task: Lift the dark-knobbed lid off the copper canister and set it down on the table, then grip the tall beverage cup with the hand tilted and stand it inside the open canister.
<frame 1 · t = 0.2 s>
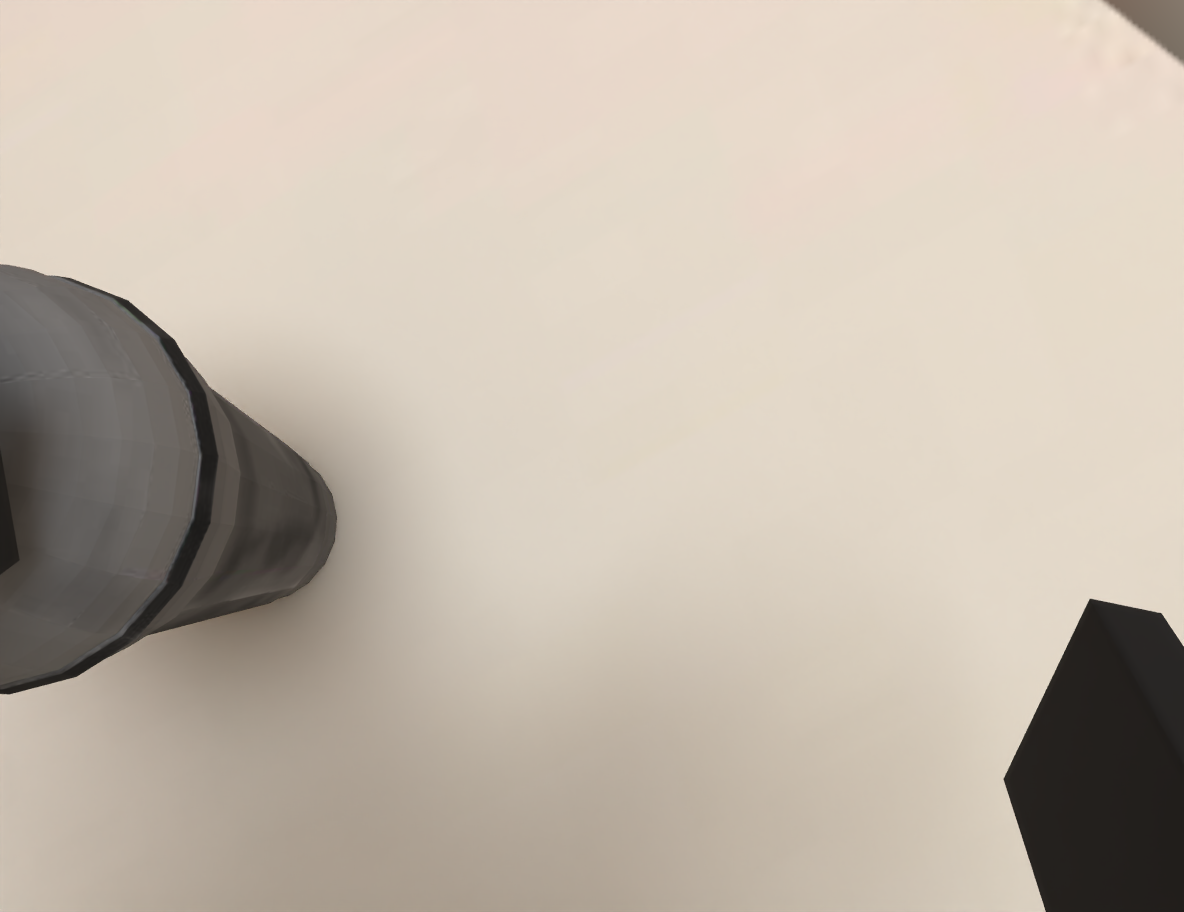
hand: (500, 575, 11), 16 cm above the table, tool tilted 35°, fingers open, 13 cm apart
beverage cup: (263, 525, 27), on the table
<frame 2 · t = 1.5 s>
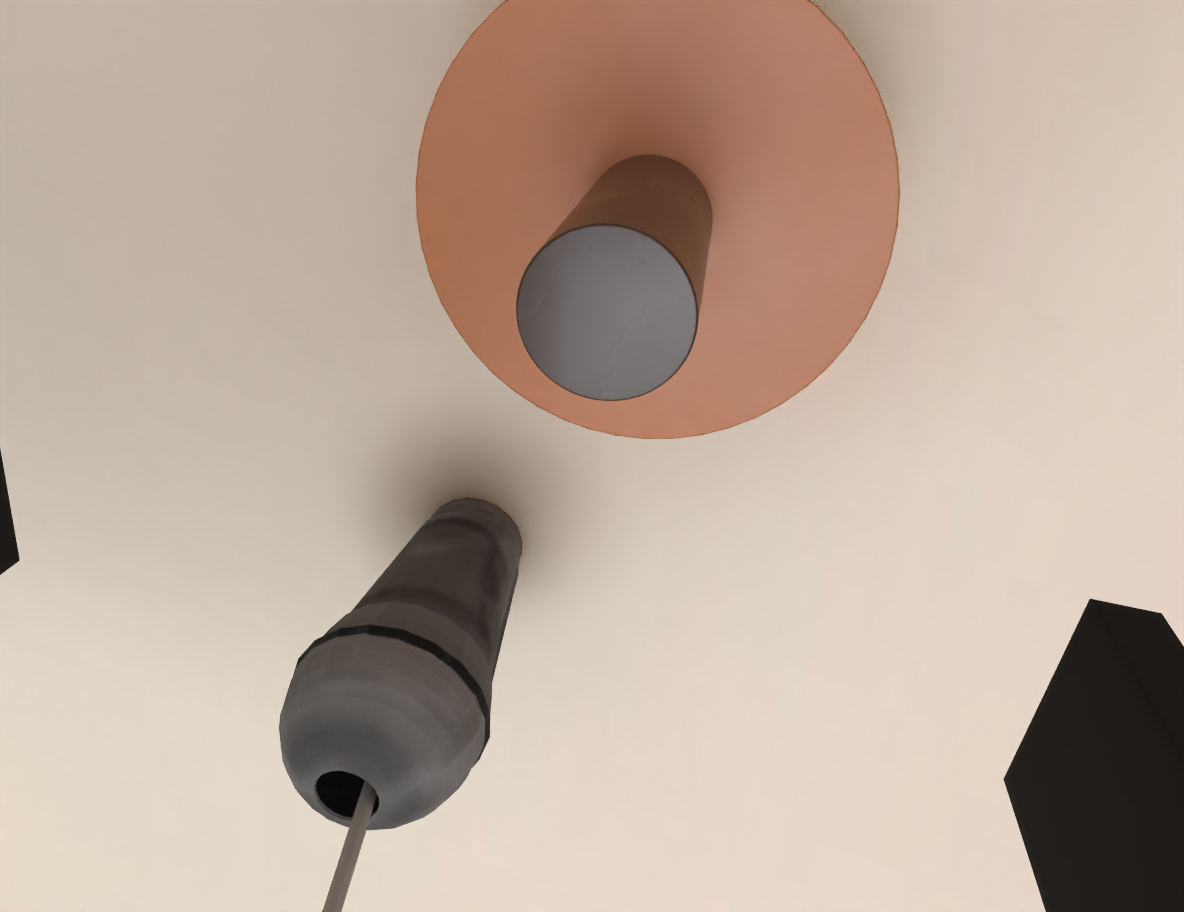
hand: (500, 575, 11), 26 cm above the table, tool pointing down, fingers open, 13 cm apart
beverage cup: (475, 538, 43), on the table
lid: (650, 216, 26), point 8 cm above the table, touching canister
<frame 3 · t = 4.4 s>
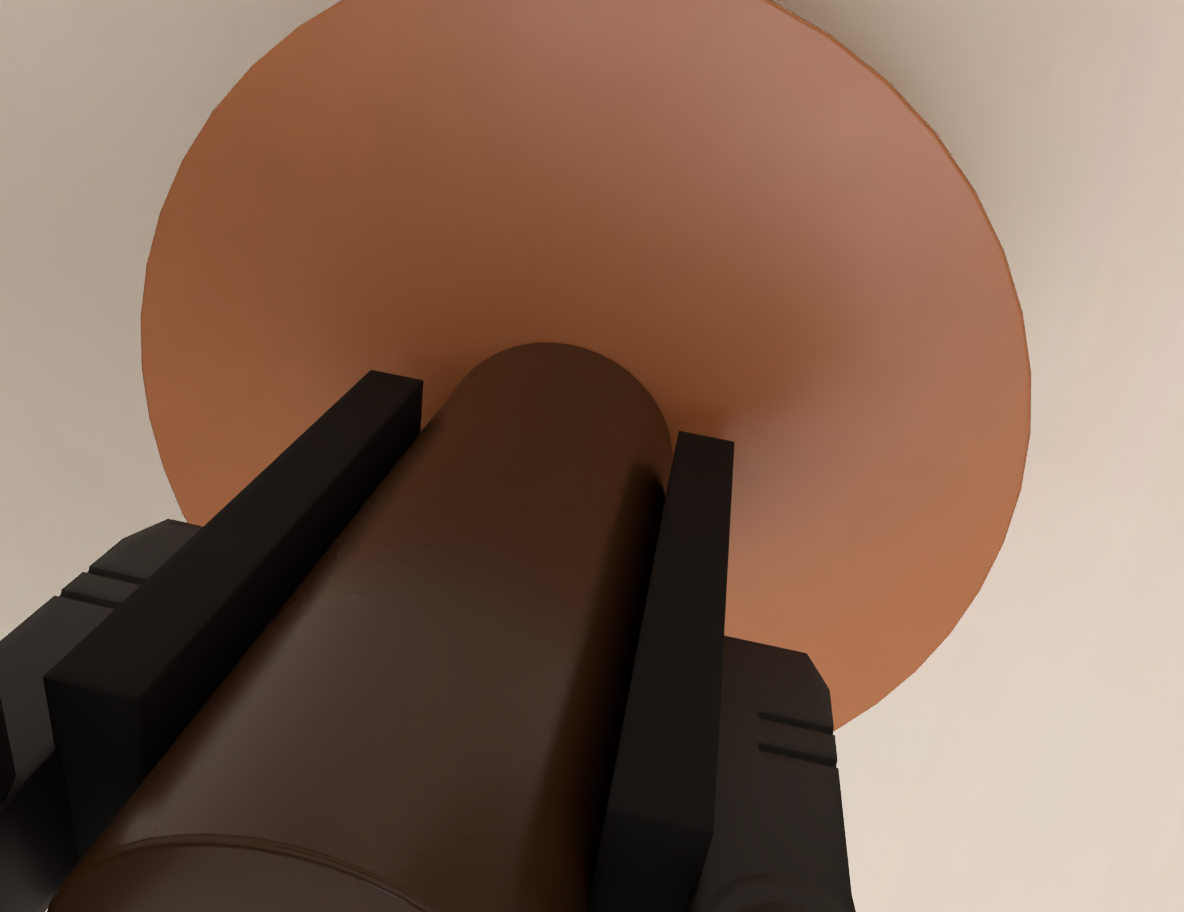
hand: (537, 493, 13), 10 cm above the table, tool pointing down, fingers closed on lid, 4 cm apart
lid: (563, 437, 15), point 9 cm above the table, touching canister, gripper
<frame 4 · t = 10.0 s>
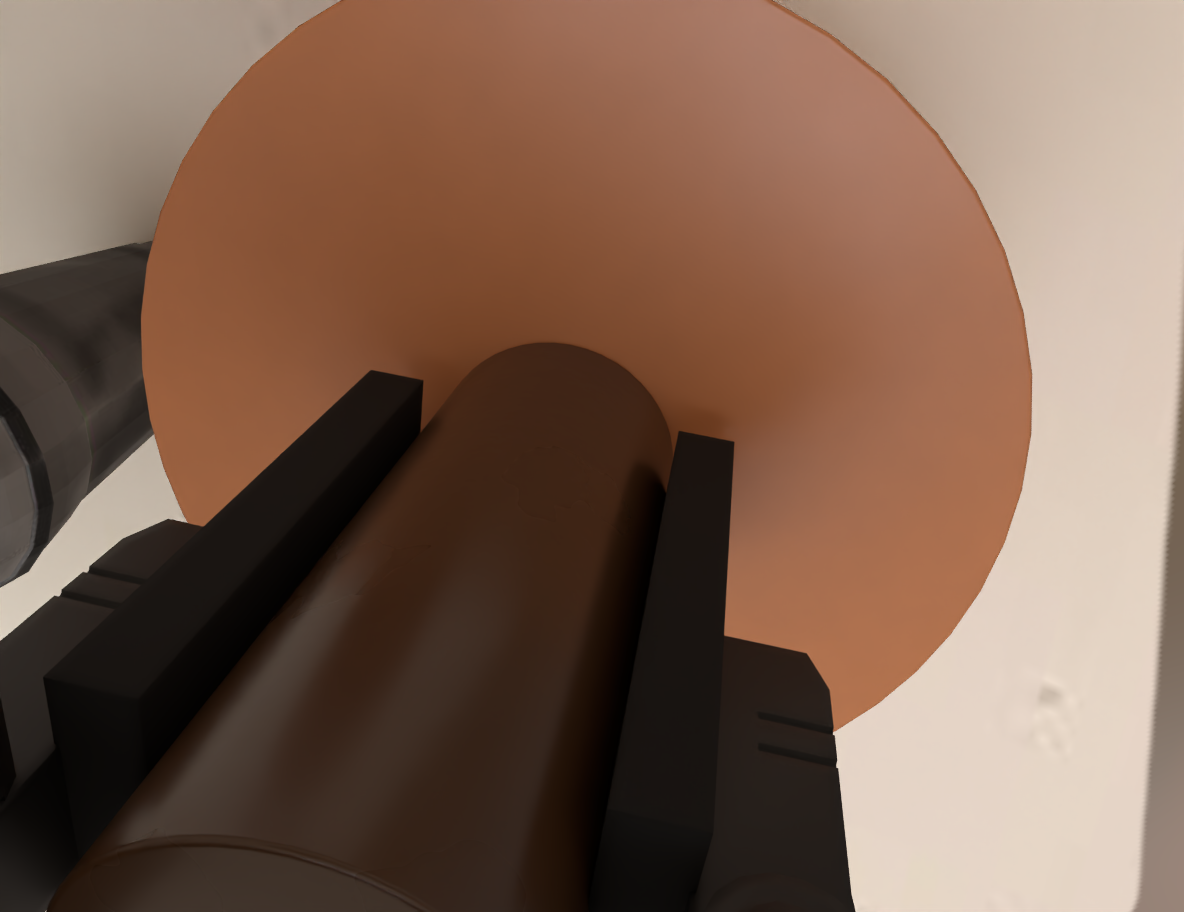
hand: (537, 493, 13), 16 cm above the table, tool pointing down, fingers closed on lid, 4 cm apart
beverage cup: (187, 304, 31), on the table
lid: (563, 437, 15), point 14 cm above the table, touching gripper
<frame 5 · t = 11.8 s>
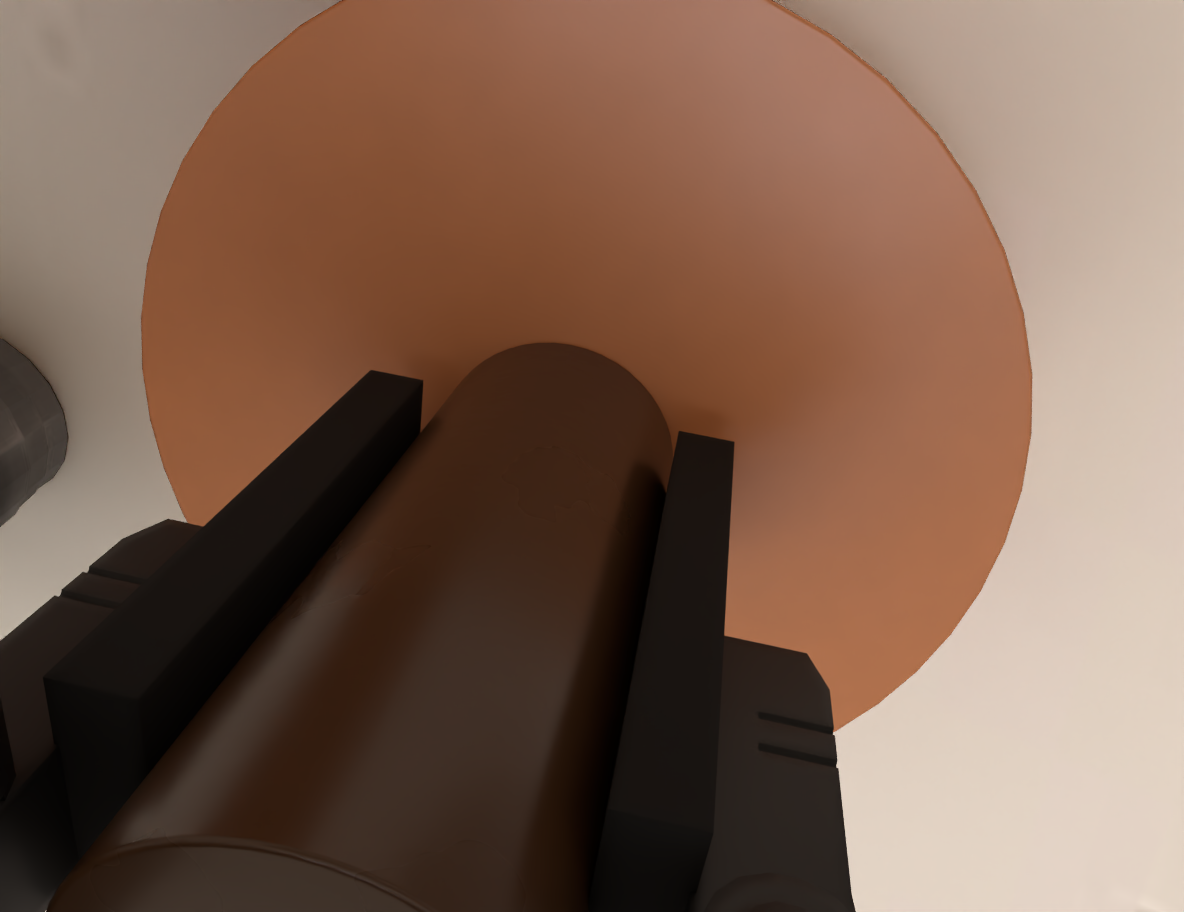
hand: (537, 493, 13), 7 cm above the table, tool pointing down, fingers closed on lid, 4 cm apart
lid: (563, 437, 15), point 5 cm above the table, touching gripper
when the fingers open (2 cm above the table, at t = 13.1 s): lid stays where it is, point 1 cm above the table.
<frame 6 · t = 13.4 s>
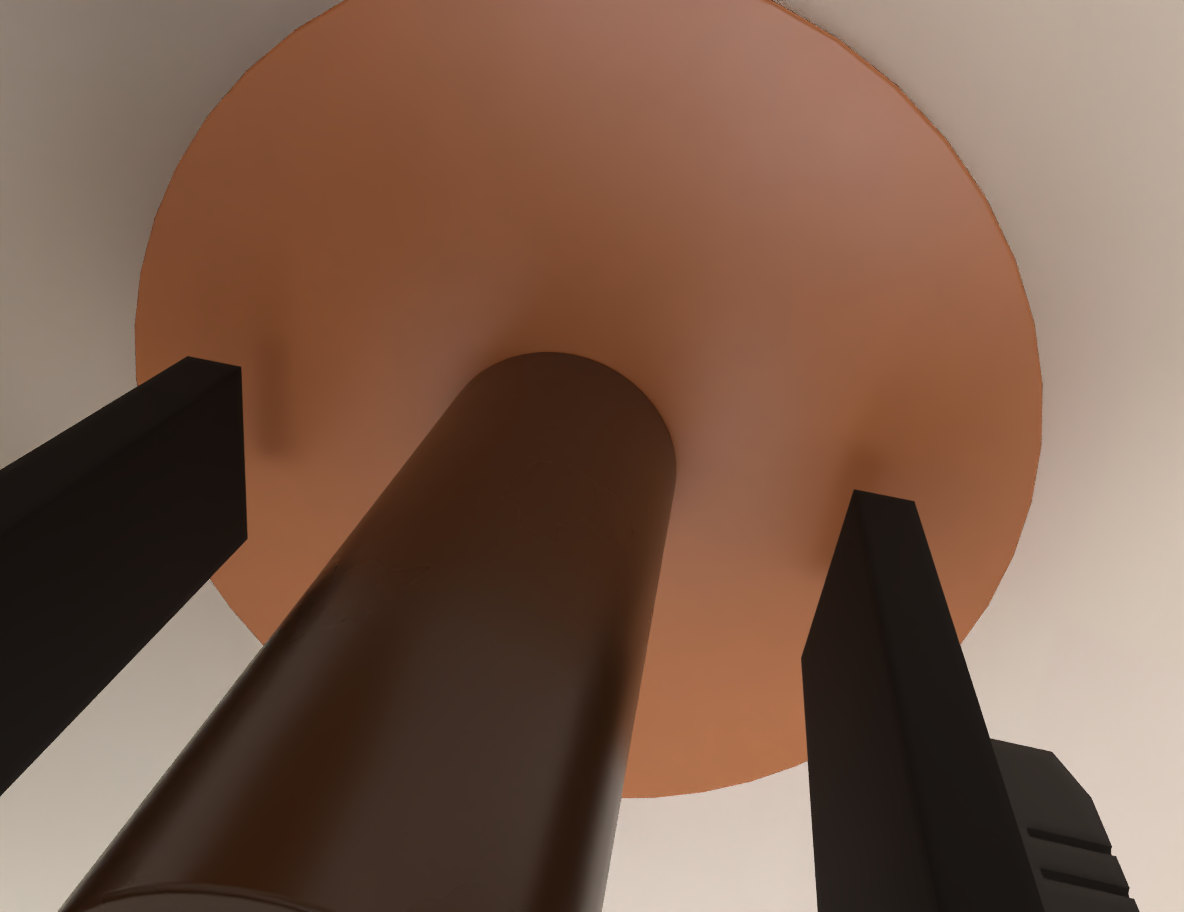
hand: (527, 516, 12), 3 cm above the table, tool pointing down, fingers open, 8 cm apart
lid: (564, 447, 14), point 1 cm above the table
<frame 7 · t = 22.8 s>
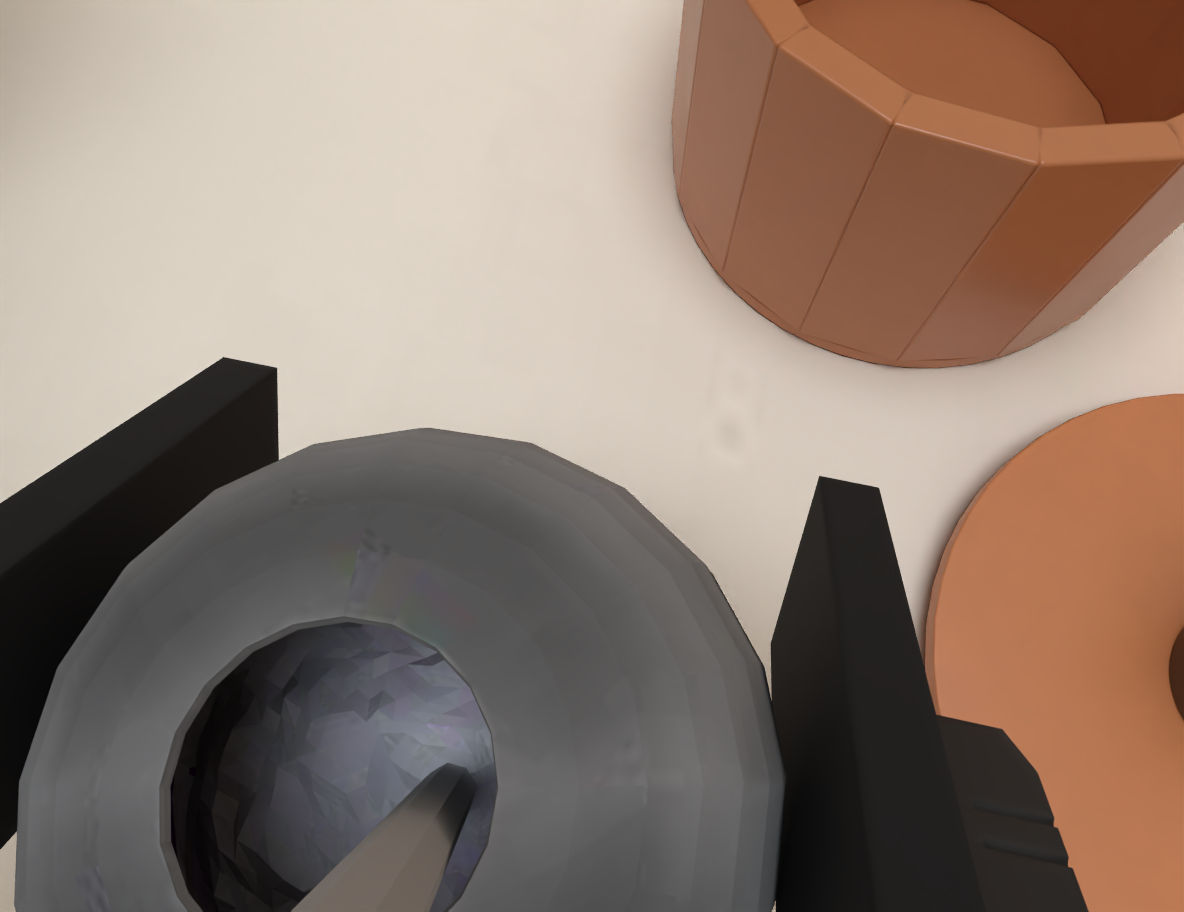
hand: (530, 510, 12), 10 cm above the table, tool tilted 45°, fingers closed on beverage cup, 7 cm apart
beverage cup: (528, 768, 21), on the table, touching gripper
canister: (900, 159, 25), on the table
when the fingers open (10 cm above the table, at t = 32.1 s): beverage cup stays where it is, resting on canister.
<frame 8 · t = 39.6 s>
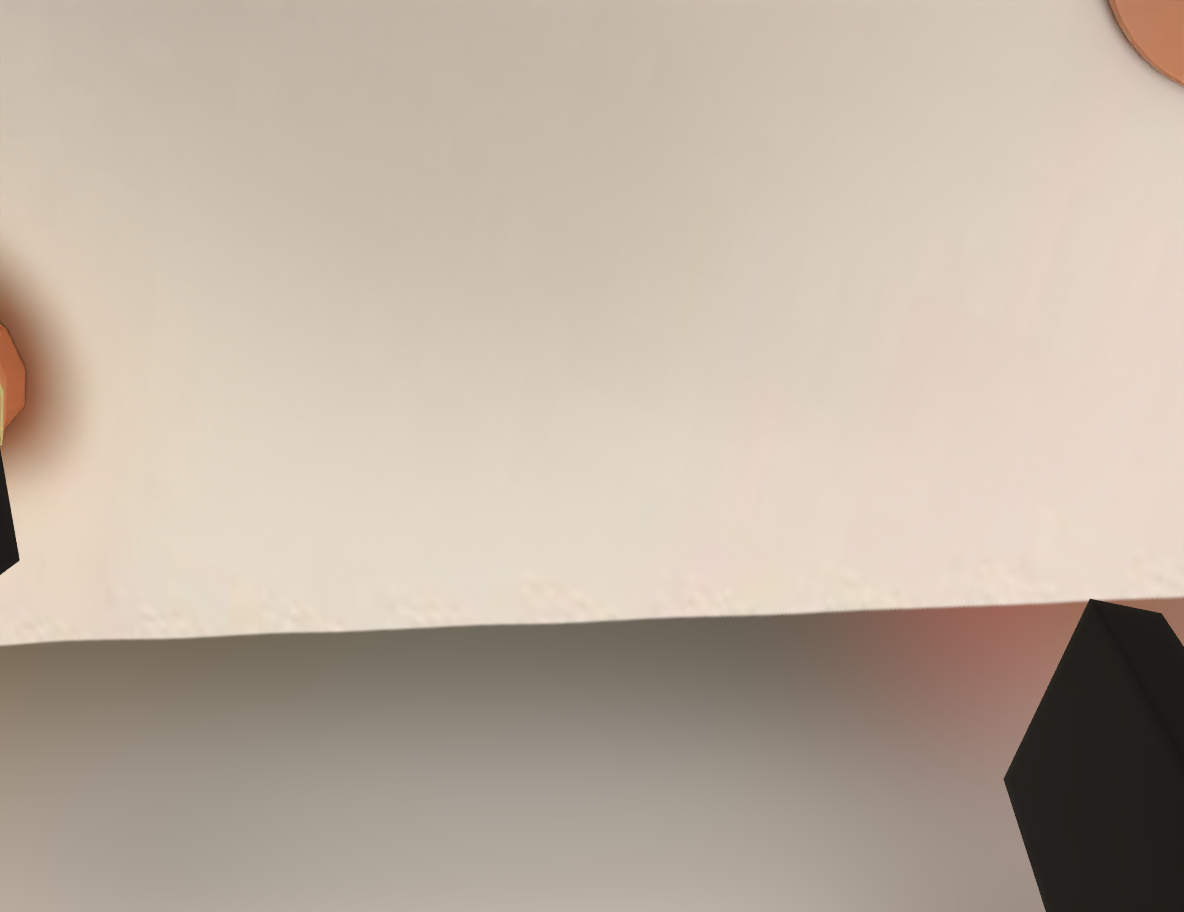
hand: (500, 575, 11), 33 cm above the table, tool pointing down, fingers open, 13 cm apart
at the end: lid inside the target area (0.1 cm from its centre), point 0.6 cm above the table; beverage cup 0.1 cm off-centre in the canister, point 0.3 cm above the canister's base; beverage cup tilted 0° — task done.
